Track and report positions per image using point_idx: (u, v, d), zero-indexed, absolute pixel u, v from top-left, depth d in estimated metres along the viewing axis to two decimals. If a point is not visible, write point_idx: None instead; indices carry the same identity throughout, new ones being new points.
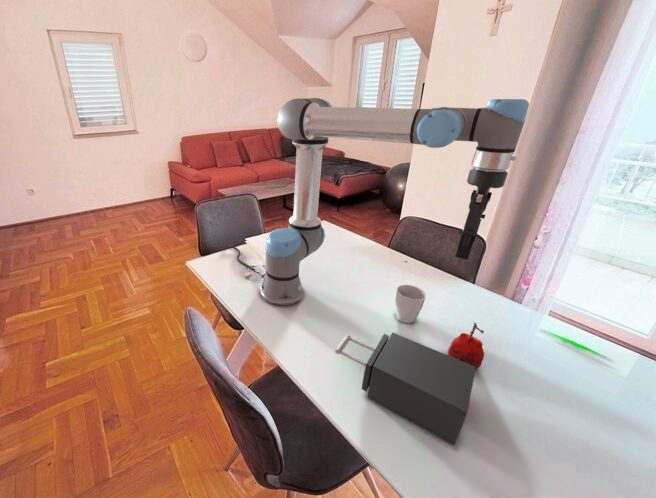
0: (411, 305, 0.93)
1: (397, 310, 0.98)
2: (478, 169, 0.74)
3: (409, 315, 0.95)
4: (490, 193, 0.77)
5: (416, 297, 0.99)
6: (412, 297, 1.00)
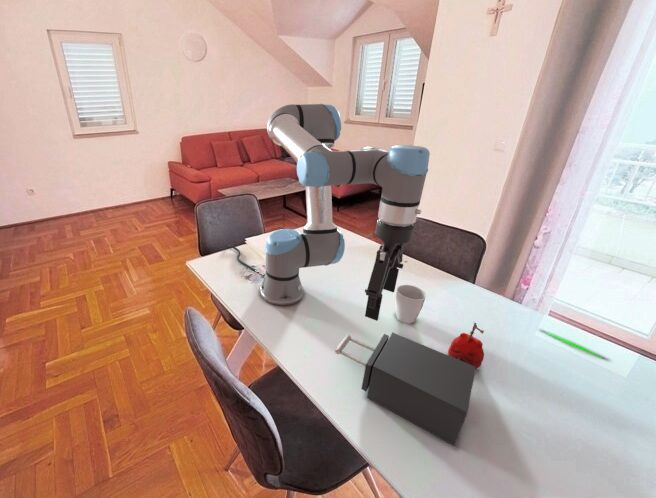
0: (411, 305, 0.93)
1: (397, 310, 0.98)
2: (383, 222, 0.66)
3: (409, 315, 0.95)
4: (400, 246, 0.69)
5: (416, 297, 0.99)
6: (412, 297, 1.00)
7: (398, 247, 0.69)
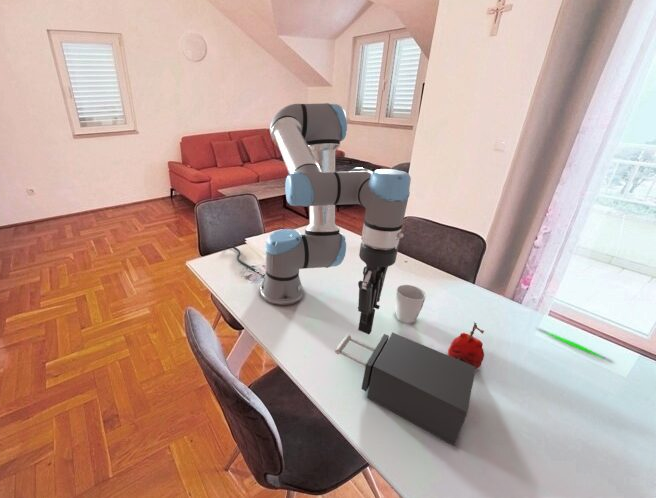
0: (411, 305, 0.93)
1: (397, 310, 0.98)
2: (366, 244, 0.66)
3: (409, 315, 0.95)
4: (384, 268, 0.69)
5: (416, 297, 0.99)
6: (412, 297, 1.00)
7: (383, 267, 0.69)
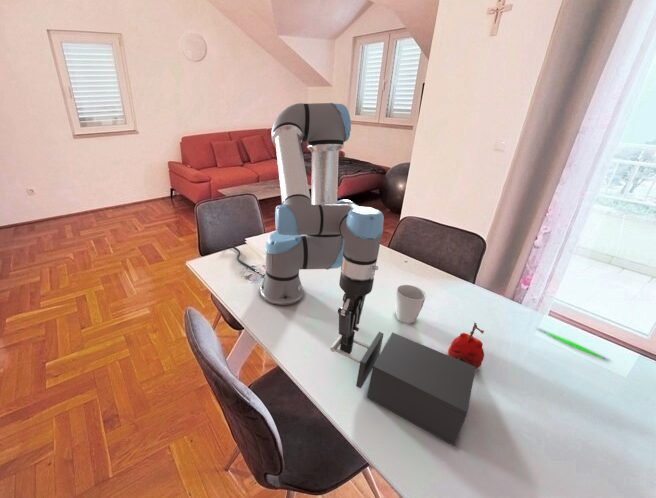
0: (411, 305, 0.93)
1: (397, 310, 0.98)
2: (345, 275, 0.72)
3: (409, 315, 0.95)
4: (362, 295, 0.75)
5: (416, 297, 0.99)
6: (412, 297, 1.00)
7: None
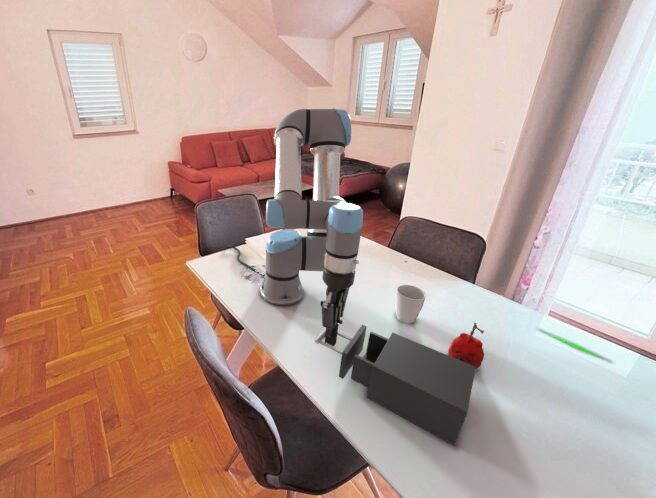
0: (411, 305, 0.93)
1: (397, 310, 0.98)
2: (327, 269, 0.75)
3: (409, 315, 0.95)
4: (344, 289, 0.78)
5: (416, 297, 0.99)
6: (412, 297, 1.00)
7: None
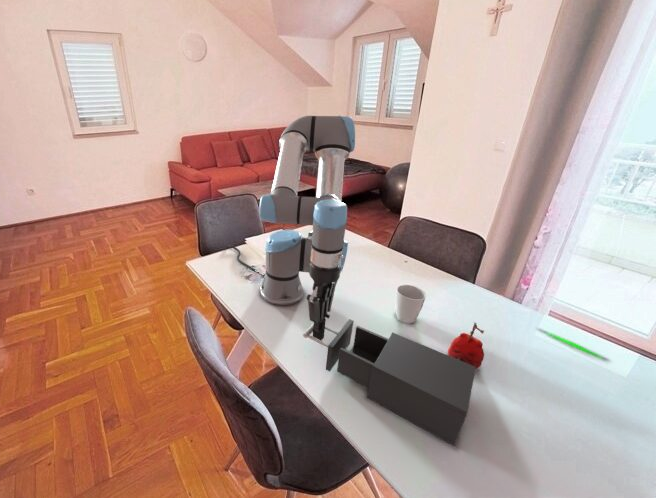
0: (411, 305, 0.93)
1: (397, 310, 0.98)
2: (313, 264, 0.77)
3: (409, 315, 0.95)
4: (331, 283, 0.80)
5: (416, 297, 0.99)
6: (412, 297, 1.00)
7: (330, 283, 0.80)
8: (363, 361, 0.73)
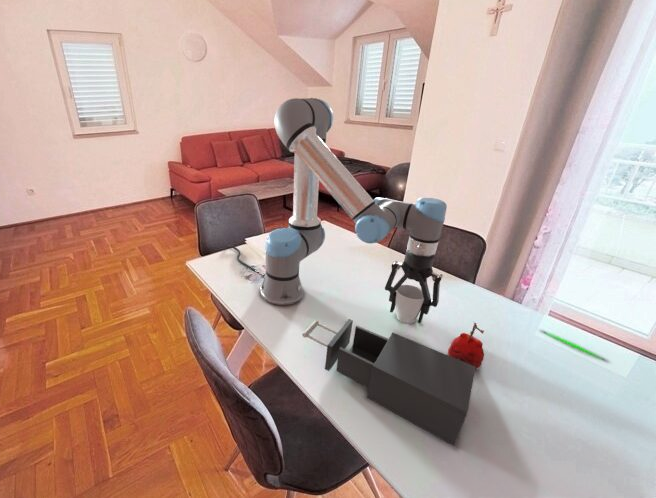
0: (411, 305, 0.93)
1: (397, 310, 0.98)
2: None
3: (409, 315, 0.95)
4: (418, 272, 0.91)
5: (416, 297, 0.99)
6: (412, 297, 1.00)
7: (418, 272, 0.91)
8: (362, 361, 0.73)
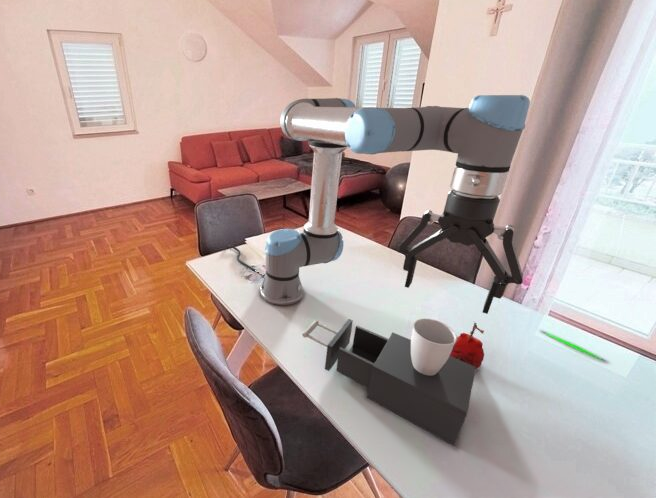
0: (436, 352, 0.63)
1: (413, 356, 0.68)
2: None
3: (432, 366, 0.65)
4: (469, 229, 0.54)
5: (441, 337, 0.69)
6: (435, 336, 0.70)
7: (468, 229, 0.55)
8: (362, 361, 0.73)
